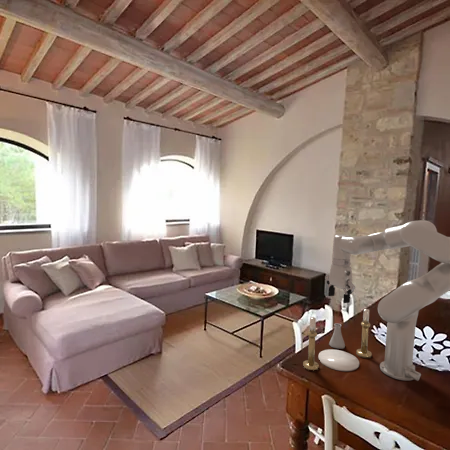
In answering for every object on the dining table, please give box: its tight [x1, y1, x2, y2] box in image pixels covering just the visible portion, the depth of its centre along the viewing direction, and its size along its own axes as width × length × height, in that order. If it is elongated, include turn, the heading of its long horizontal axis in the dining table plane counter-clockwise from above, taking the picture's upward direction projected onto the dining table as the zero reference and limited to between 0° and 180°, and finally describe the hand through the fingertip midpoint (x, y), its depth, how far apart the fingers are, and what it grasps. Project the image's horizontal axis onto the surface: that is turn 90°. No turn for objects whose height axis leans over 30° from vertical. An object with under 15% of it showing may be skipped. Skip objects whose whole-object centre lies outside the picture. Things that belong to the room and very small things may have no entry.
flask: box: [328, 323, 346, 350], centre depth 145 cm, size 7×7×10 cm
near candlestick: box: [302, 316, 319, 372], centre depth 125 cm, size 6×6×20 cm
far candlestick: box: [355, 308, 373, 359], centre depth 136 cm, size 6×6×20 cm
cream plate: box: [317, 349, 360, 372], centre depth 132 cm, size 16×16×1 cm
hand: (338, 299), depth 143 cm, fingers open, 9 cm apart
